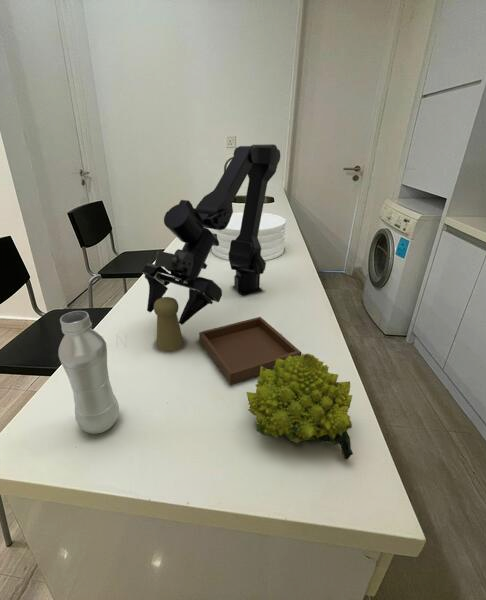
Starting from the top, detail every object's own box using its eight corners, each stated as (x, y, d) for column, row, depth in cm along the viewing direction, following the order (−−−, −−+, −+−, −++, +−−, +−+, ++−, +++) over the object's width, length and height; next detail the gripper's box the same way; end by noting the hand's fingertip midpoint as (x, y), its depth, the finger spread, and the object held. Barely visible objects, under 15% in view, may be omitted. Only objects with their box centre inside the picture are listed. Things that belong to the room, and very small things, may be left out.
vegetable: (390, 453, 43) (335, 361, 40) (283, 493, 47) (227, 411, 45) (357, 391, 57) (315, 320, 54) (277, 426, 61) (234, 361, 59)
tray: (259, 325, 79) (260, 316, 78) (300, 362, 66) (301, 352, 65) (199, 341, 74) (198, 332, 73) (230, 385, 61) (230, 374, 60)
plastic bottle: (84, 410, 57) (56, 307, 47) (124, 406, 57) (104, 304, 48) (73, 441, 51) (39, 331, 42) (118, 437, 51) (94, 327, 42)
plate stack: (199, 246, 135) (197, 218, 130) (253, 235, 147) (254, 209, 142) (239, 267, 113) (239, 234, 108) (299, 251, 126) (302, 221, 120)
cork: (179, 352, 70) (175, 307, 65) (152, 350, 72) (146, 305, 67) (186, 337, 76) (183, 294, 71) (161, 335, 77) (156, 292, 72)
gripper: (143, 227, 71) (109, 292, 68) (212, 240, 61) (176, 317, 58) (171, 252, 80) (142, 310, 77) (235, 267, 70) (205, 335, 67)
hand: (164, 317), depth 70 cm, fingers open, 9 cm apart
